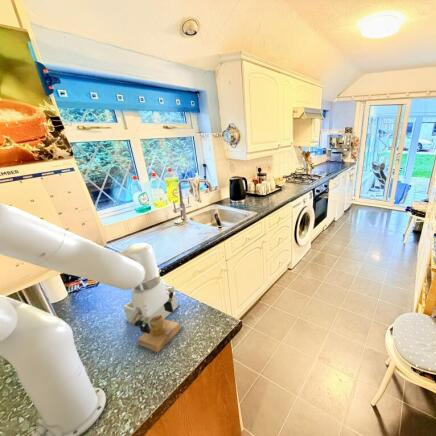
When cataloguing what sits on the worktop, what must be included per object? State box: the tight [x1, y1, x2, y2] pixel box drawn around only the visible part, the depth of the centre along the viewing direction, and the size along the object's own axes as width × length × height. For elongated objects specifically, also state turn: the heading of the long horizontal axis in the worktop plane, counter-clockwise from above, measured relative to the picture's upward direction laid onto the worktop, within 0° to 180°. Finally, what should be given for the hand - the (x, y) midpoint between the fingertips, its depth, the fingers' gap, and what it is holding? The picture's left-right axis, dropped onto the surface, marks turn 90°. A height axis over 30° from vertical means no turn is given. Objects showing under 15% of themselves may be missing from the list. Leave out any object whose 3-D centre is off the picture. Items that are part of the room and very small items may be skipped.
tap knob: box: [150, 315, 166, 336], centre depth 81 cm, size 4×4×5 cm
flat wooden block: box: [137, 318, 181, 353], centre depth 83 cm, size 10×8×3 cm
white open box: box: [123, 291, 179, 328], centre depth 93 cm, size 13×13×7 cm
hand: (158, 320), depth 81 cm, fingers open, 9 cm apart
